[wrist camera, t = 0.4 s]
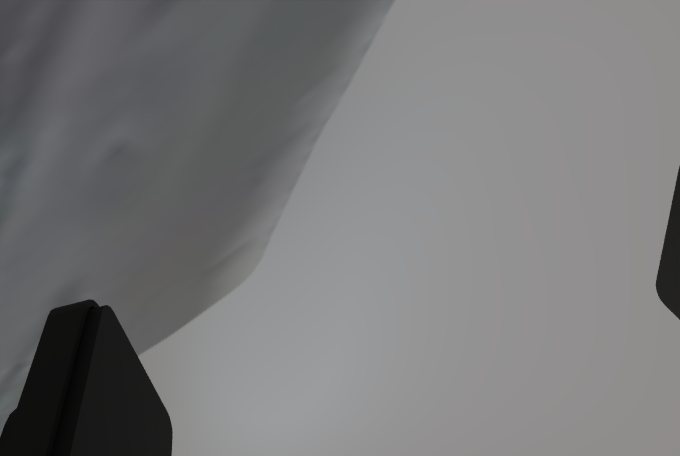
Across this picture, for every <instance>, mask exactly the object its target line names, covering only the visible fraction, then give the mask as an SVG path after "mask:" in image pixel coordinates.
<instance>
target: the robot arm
mask: <svg viewBox="0 0 680 456" xmlns="http://www.w3.org/2000/svg"><path fill="white" fill-rule="evenodd" d="M656 290H657V293H658V296H659V298H660V299H661V301H662V302H663V303H664V304H665V306H667V308H669V310H670V311H671V312H673V313H674V314H675V315H676V316H677V317H678V318H679V319H680V167H679V171H678V176H677V181H676V186H675V191H674V196H673V200H672V205H671V211H670V216H669V220H668V225H667V230H666V235H665V240H664V245H663V250H662V255H661V260H660V265H659V270H658V275H657V280H656ZM171 453H172V425H171V421H170V417H169V415H168V412H167V410H166V408H165V407H164V405H163V403H162V401H161V399H160V397H159V396H158V394H157V392H156V390H155V388H154V386H153V384H152V383H151V380H150V379H149V377H148V375H147V373H146V371H145V369H144V367H143V366H142V364H141V362H140V360H139V358H138V356H137V354H136V353H135V351H134V349H133V347H132V345H131V343H130V341H129V340H128V338H127V336H126V334H125V332H124V330H123V328H122V326H121V325H120V323H119V321H118V319H117V317H116V315H115V313H114V312H113V310H112V309H111V307H109V306H107V305H105V306H101V307H99V305H98V304H97V303H96V302H95V301H94V300H86V301H82V302H78V303H74V304H70V305H66V306H62V307H58V308H54V309H53V310H51V311H50V313H49V315H48V318H47V321H46V324H45V326H44V329H43V332H42V335H41V338H40V341H39V344H38V347H37V350H36V353H35V356H34V359H33V362H32V365H31V368H30V371H29V374H28V377H27V380H26V383H25V386H24V389H23V392H22V395H21V397H20V400H19V403H18V406H17V409H15V410H14V411H13V412H12V413H11V414H10V415H9V417H8V419H7V421H6V423H5V425H4V428H3V431H2V434H1V437H0V456H171Z"/></svg>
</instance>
